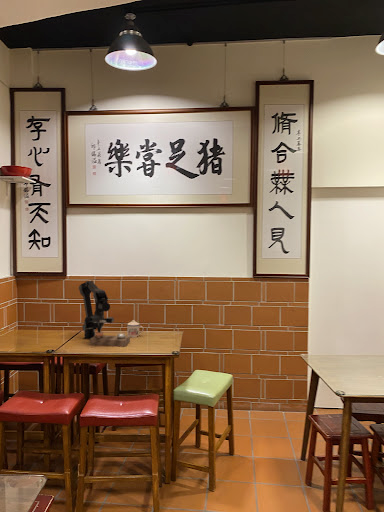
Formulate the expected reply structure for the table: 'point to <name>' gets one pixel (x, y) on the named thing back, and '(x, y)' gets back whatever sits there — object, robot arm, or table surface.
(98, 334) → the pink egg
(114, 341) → the press block
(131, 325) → the teacup with lid
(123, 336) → the grey plunger
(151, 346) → the table surface
